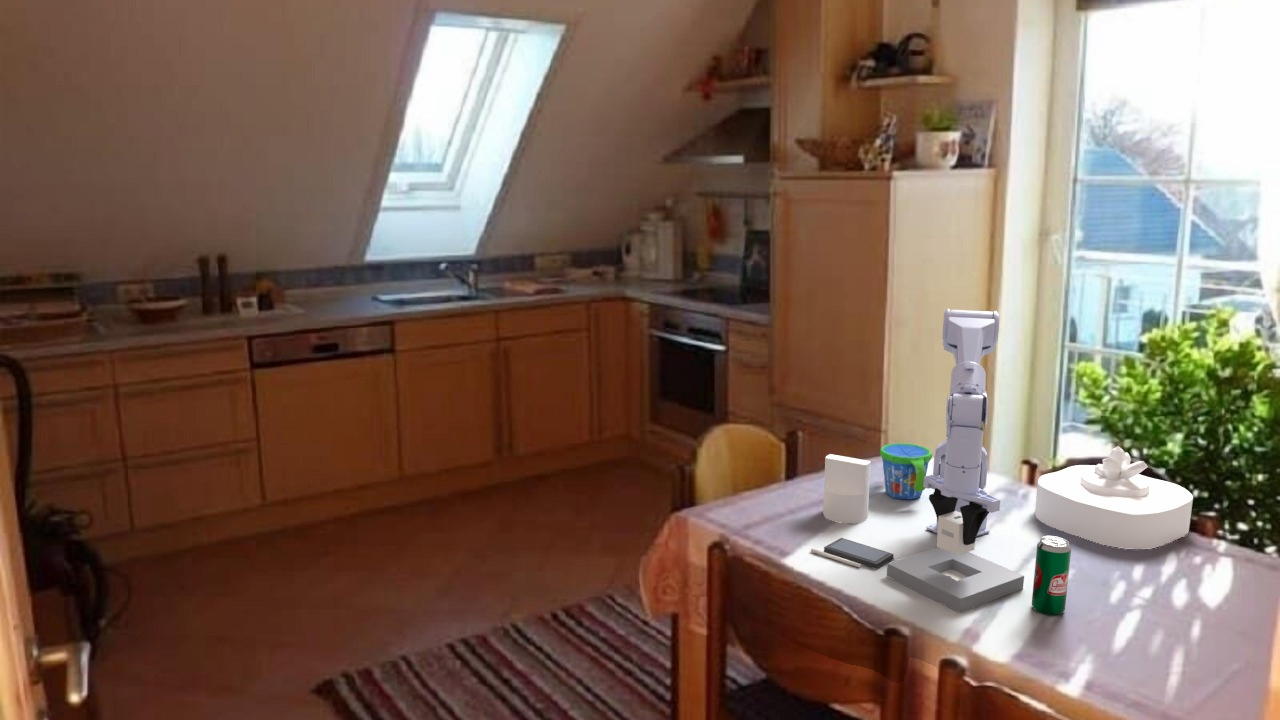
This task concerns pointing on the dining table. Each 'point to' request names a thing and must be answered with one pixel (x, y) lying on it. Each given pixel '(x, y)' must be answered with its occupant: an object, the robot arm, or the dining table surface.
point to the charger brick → (952, 534)
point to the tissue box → (1114, 503)
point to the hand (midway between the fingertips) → (957, 538)
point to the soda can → (1051, 575)
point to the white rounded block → (846, 489)
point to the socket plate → (955, 578)
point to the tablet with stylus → (855, 554)
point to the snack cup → (905, 469)
